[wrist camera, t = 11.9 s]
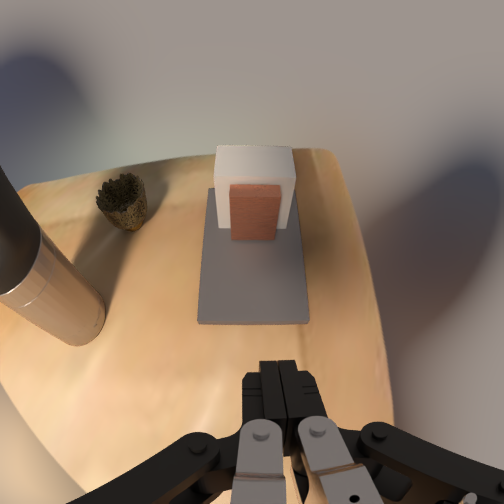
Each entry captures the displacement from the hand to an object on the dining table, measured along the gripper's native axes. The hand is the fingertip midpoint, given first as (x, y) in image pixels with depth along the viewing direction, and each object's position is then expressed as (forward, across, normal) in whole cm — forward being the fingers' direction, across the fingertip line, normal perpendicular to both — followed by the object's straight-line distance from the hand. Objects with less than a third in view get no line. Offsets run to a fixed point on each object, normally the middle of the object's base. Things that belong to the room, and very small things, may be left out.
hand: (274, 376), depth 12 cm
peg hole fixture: (+32, 0, +2) cm, 32 cm away
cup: (+35, +19, -1) cm, 40 cm away
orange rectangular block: (+35, 0, -4) cm, 35 cm away
